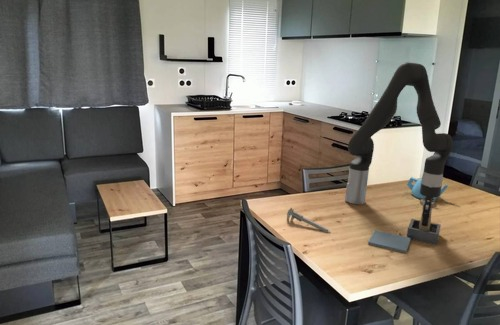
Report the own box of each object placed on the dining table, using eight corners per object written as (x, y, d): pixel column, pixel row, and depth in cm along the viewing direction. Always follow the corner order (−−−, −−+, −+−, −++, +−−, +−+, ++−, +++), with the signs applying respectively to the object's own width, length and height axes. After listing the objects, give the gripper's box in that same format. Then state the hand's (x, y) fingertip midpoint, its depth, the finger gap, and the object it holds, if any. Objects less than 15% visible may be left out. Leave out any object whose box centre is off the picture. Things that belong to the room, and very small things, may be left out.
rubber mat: (368, 244, 157) (368, 241, 157) (374, 232, 169) (375, 229, 168) (406, 253, 151) (406, 250, 151) (410, 240, 162) (410, 237, 162)
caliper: (286, 220, 177) (287, 207, 176) (287, 220, 178) (288, 206, 177) (329, 233, 166) (331, 219, 164) (330, 233, 167) (332, 218, 165)
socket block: (406, 238, 164) (407, 228, 163) (410, 228, 174) (411, 218, 172) (437, 245, 159) (438, 234, 158) (439, 234, 169) (440, 224, 167)
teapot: (429, 191, 224) (432, 172, 221) (447, 201, 210) (450, 181, 207) (404, 192, 221) (407, 173, 219) (420, 201, 207) (423, 181, 204)
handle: (426, 240, 162) (432, 205, 158) (412, 234, 167) (417, 200, 164) (433, 238, 165) (439, 203, 161) (419, 232, 170) (425, 198, 166)
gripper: (423, 177, 168) (417, 216, 172) (419, 186, 156) (413, 227, 160) (442, 180, 165) (436, 219, 169) (440, 190, 152) (433, 232, 157)
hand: (425, 223), depth 165 cm, fingers closed on handle, 4 cm apart
